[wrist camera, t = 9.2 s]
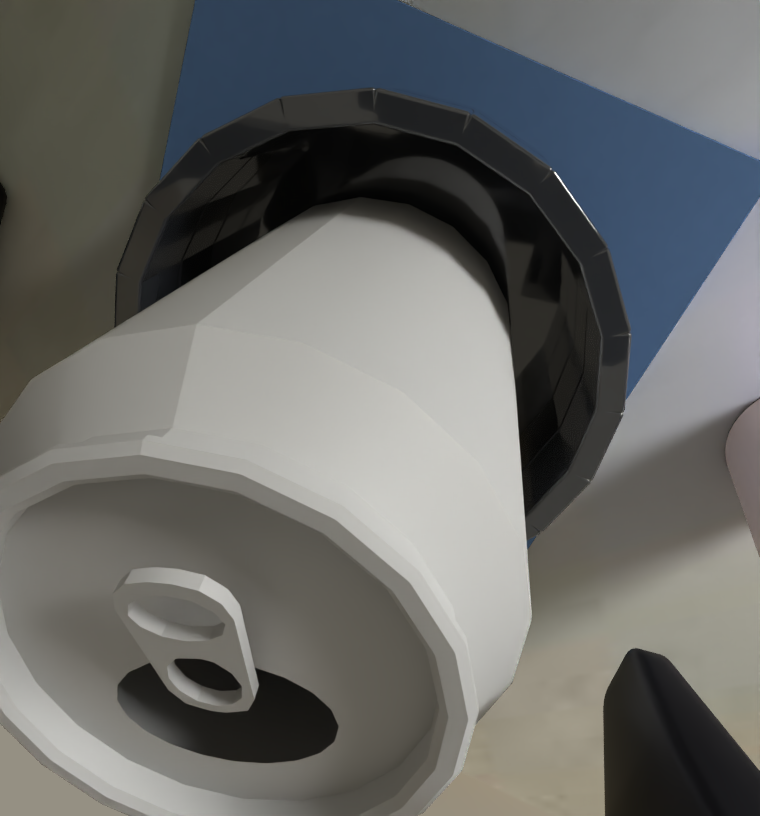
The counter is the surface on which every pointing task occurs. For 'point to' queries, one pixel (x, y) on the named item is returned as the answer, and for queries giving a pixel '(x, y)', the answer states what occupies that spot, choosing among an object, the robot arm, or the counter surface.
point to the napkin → (505, 103)
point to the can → (272, 530)
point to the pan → (441, 198)
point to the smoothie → (746, 465)
